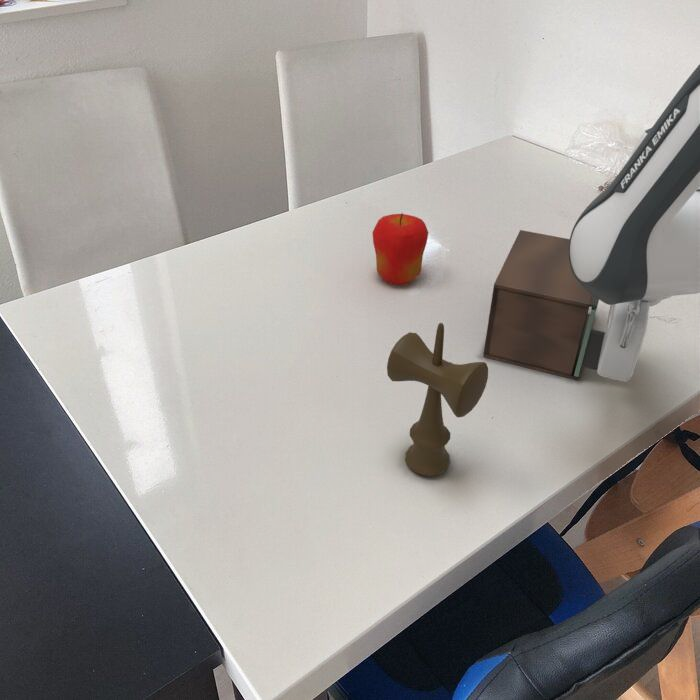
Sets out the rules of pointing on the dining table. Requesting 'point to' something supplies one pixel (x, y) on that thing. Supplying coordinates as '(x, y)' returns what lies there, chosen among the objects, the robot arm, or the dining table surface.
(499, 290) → the cabinet
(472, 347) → the dining table surface
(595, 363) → the door
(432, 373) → the kendama
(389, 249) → the apple
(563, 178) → the dining table surface
